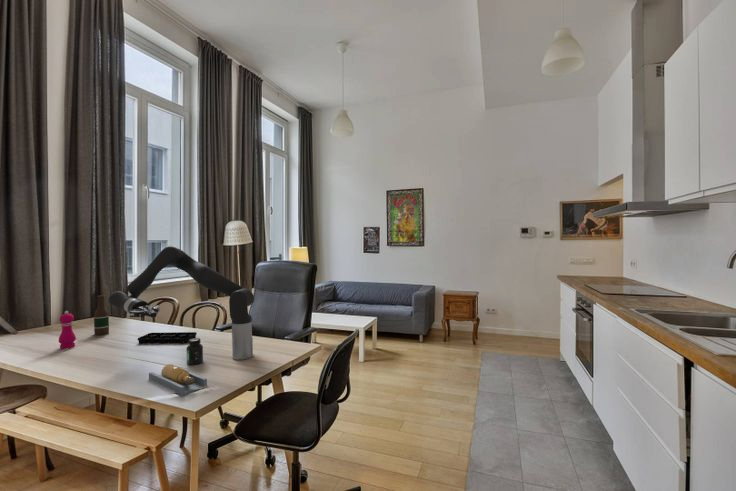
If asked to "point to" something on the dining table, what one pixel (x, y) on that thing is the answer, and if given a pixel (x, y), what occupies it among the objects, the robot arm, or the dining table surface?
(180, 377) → the bottle
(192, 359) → the supplement bottle
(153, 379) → the cradle
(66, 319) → the pepper mill
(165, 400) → the dining table surface
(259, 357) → the dining table surface
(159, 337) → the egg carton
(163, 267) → the robot arm
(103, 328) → the beer bottle
